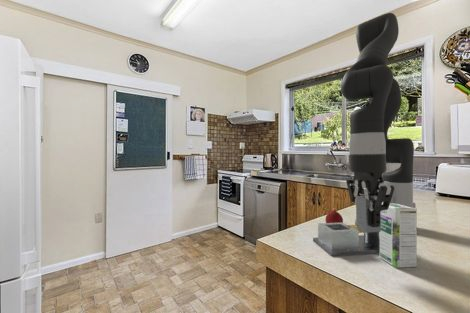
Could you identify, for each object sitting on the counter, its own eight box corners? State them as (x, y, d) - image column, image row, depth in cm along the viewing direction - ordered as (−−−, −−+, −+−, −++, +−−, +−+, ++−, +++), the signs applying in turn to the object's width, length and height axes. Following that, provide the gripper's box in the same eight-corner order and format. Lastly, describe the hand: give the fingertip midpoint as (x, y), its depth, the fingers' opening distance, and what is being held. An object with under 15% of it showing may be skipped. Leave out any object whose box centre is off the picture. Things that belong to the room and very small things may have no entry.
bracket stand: (372, 237, 74) (372, 168, 74) (400, 252, 63) (399, 170, 63) (313, 240, 72) (312, 169, 72) (331, 256, 61) (330, 171, 61)
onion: (345, 233, 79) (344, 210, 79) (327, 232, 80) (327, 210, 80) (340, 228, 84) (340, 207, 84) (324, 227, 85) (324, 206, 85)
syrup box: (378, 257, 60) (378, 203, 60) (399, 256, 61) (398, 202, 61) (395, 268, 54) (395, 208, 54) (418, 267, 55) (417, 207, 55)
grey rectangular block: (369, 226, 56) (369, 194, 56) (380, 231, 53) (380, 197, 53) (356, 227, 56) (355, 195, 56) (366, 232, 52) (365, 198, 52)
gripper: (406, 152, 48) (407, 233, 48) (361, 152, 62) (362, 215, 62) (373, 152, 47) (374, 235, 47) (335, 152, 61) (337, 216, 61)
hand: (368, 223), depth 54 cm, fingers closed on grey rectangular block, 3 cm apart
